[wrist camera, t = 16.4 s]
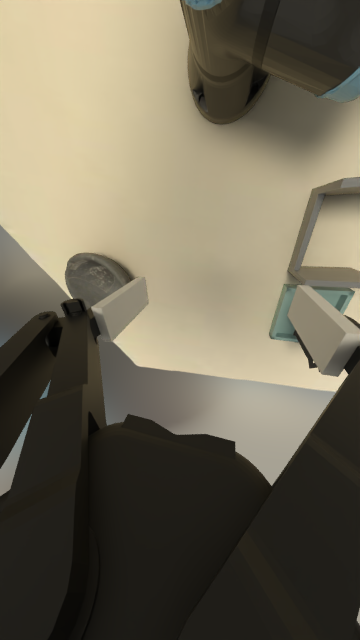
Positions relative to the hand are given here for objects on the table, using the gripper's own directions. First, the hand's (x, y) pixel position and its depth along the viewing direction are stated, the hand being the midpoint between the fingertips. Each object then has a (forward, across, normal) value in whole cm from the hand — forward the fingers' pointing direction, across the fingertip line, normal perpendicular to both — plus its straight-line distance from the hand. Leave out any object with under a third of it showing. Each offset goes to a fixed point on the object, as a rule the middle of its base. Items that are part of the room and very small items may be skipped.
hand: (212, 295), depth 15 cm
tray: (+37, +25, -19) cm, 48 cm away
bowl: (+37, -38, -13) cm, 55 cm away
